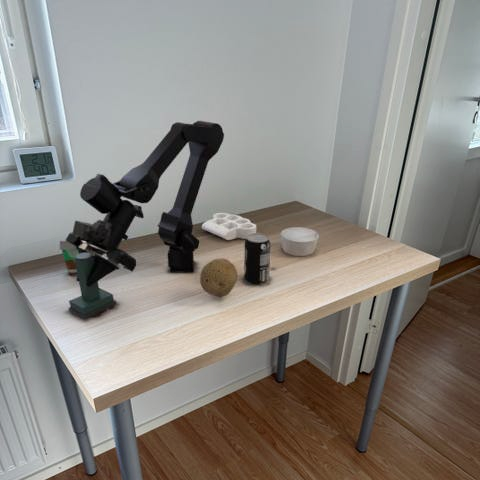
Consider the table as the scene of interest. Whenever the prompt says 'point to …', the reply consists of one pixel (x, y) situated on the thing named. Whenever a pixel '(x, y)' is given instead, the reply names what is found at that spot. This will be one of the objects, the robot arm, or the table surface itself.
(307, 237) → the ramekin
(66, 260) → the food container
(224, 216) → the white egg tray
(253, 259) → the beverage can
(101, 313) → the coffee spill
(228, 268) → the natural sponge
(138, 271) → the table surface
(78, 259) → the wiper
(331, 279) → the table surface
